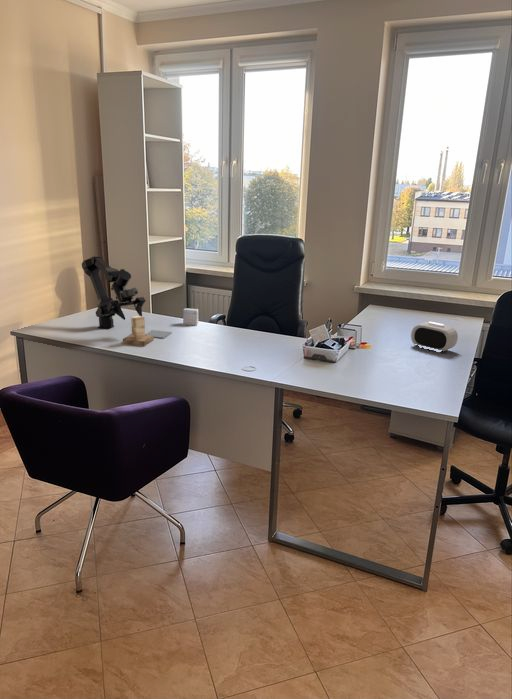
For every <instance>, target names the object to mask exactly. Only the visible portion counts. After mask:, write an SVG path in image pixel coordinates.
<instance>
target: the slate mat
mask: <svg viewBox="0 0 512 699" xmlns="http://www.w3.org/2000/svg"><path fill="white" fill-rule="evenodd" d="M145 334H146V335H153V339H154V338H155V339H162V338H163V340H164V339H166V338H167V337H169V336H170V335H171V334H173V332H172V331H166V330H165V331H164V330H156V329H155V330H154V329H151V330H150V331H148V332H147V333H145ZM168 335H169V336H168Z"/></svg>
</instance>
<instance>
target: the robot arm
mask: <svg viewBox="0 0 512 699" xmlns="http://www.w3.org/2000/svg"><path fill="white" fill-rule="evenodd" d="M81 269H82V270H83V272H84V273H85V274H86V275H87V276H88V277H89V278H90V281H91V283H92V285H93V289H94V291H95V294H96V296H97V299H98V302H97V309H96V311H95V316H96V317H98V327H97V329H103V330H104V329H106V330H110V329H112V328H113V327H115V325H114V318H113V317H115V316H116V315H117V316H118V317H119V318H121V319H122V320H123V321H124V320H125V321H126V316H125V314H124V312H123V310H122V308H121V307H126V306H134V310H135V311H136V313H137V315H138V316H142V317H143V311H142V308H143V307H144V304H145V303H146V299H145V297H144V296H138V297H136V298H135V300H133V299H134V296H136V295H137V294H138V289H137V287H132V288H131V289H127V288H126V287H127V285H129V284H128V283H130V280H131V279H132V275H131V273H130V272H129V271H127V270H125V269H124V268H122V269H121V268H120V270H119V269H117V268H113V267H111V266H110V265H109V263H107V262H106V261H105V260H104V259H103V257H102V256H100V255H93V256H91V257H90V258H88V259H85V260H83V261H82V263H81ZM100 272H102V273H103V275H104V279H105V280H106V282H107V283H110V284H111V283H112V284H111V288H110V290H111V291H113V292H114V293H115V299H113V298H112V297H108V295H107V292H106V289H105V286H104V284H103V282H102V278H101V276H100V274H99V273H100Z"/></svg>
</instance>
